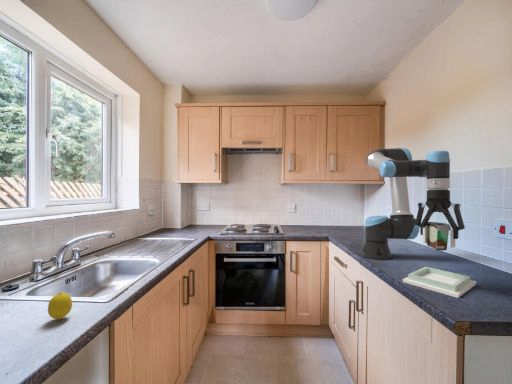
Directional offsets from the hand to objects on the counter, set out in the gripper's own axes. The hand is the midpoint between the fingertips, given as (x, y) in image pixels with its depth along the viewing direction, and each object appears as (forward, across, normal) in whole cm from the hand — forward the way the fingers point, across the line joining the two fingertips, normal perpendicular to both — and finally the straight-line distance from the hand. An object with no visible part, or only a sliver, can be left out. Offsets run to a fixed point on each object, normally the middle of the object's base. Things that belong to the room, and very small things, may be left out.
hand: (438, 244), depth 96 cm
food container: (+1, 0, 0) cm, 2 cm away
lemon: (+16, -53, -124) cm, 136 cm away
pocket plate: (+16, 0, 0) cm, 16 cm away
